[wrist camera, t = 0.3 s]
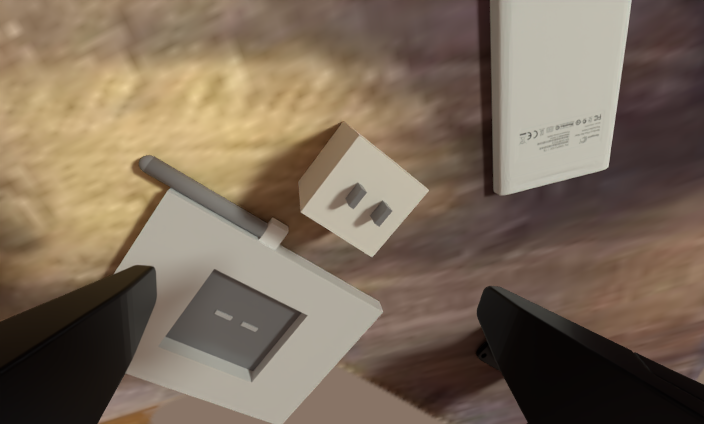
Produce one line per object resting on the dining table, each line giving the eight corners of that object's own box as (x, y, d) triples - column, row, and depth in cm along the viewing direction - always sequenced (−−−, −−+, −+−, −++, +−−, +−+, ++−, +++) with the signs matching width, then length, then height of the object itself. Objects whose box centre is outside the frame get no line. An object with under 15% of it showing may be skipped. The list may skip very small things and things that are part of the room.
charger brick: (399, 165, 21) (437, 197, 16) (355, 219, 22) (376, 267, 17) (343, 120, 20) (364, 138, 14) (298, 181, 21) (301, 220, 15)
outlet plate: (379, 301, 25) (383, 312, 24) (280, 412, 28) (280, 426, 27) (174, 184, 19) (167, 190, 18) (74, 338, 22) (63, 352, 21)
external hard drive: (615, -42, 19) (593, 163, 24) (483, -16, 19) (488, 189, 24) (642, -51, 18) (612, 169, 23) (500, -23, 17) (502, 197, 22)
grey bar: (288, 226, 21) (288, 233, 21) (272, 247, 22) (272, 254, 21) (151, 143, 18) (144, 147, 17) (136, 169, 19) (128, 174, 18)
